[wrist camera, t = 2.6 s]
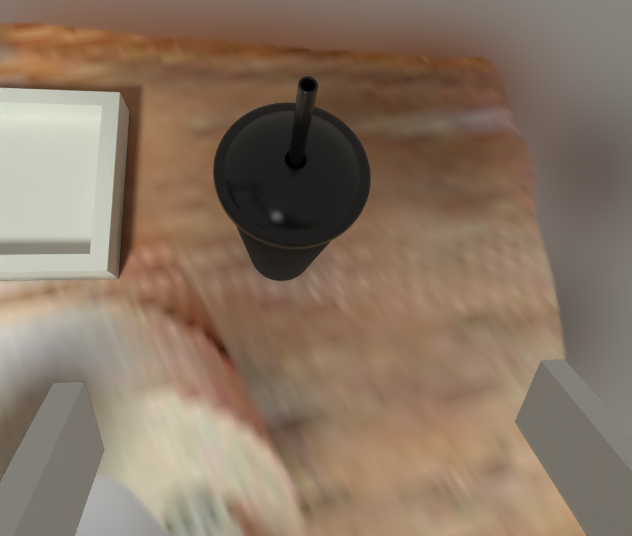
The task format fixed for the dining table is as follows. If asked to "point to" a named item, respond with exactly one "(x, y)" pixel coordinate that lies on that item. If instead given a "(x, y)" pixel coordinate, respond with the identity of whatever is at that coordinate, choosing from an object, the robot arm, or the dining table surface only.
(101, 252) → the tray
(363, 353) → the dining table surface
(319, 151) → the drinking cup
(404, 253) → the dining table surface
